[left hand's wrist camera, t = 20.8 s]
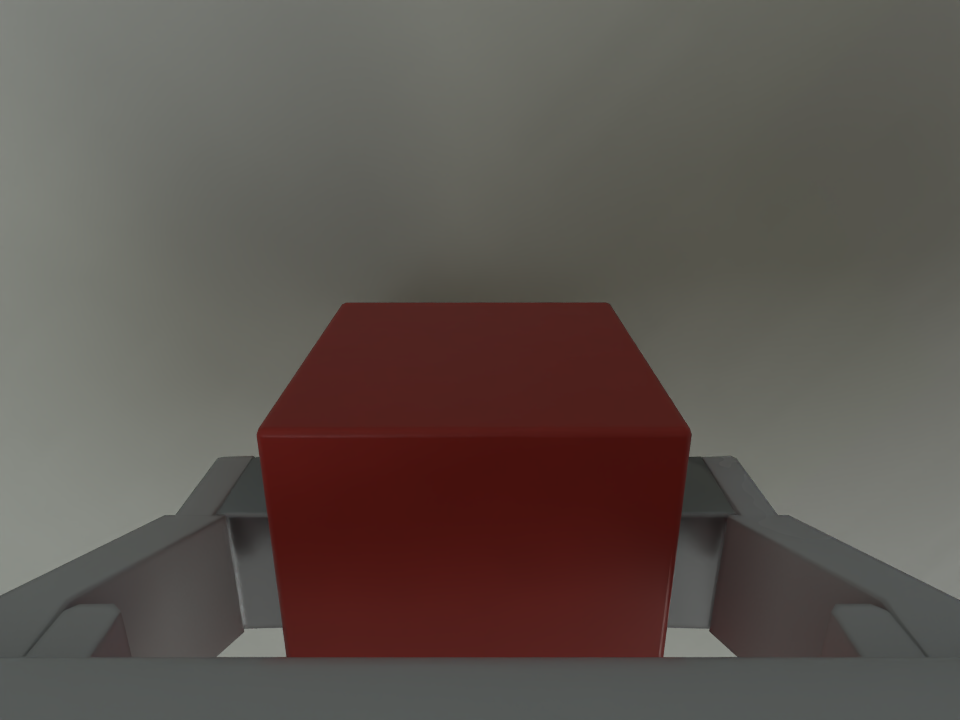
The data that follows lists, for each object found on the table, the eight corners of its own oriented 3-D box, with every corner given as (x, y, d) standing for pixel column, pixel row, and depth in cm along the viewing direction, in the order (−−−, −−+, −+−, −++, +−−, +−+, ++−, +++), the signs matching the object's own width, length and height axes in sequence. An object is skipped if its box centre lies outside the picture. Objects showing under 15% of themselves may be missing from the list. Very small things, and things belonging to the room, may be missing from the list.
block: (341, 301, 11) (252, 430, 7) (610, 301, 12) (695, 429, 7) (360, 551, 13) (300, 781, 9) (592, 550, 13) (650, 781, 9)
